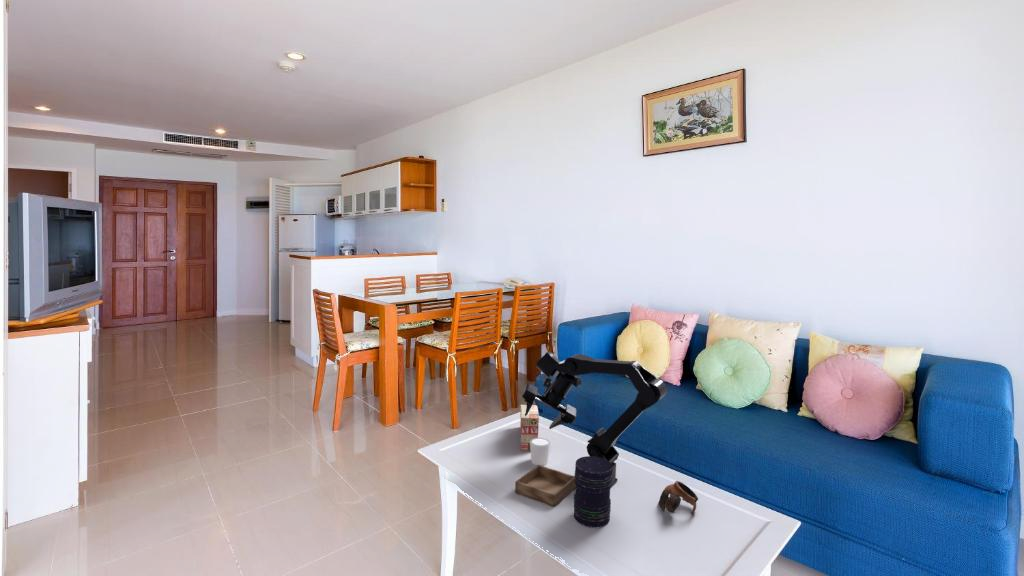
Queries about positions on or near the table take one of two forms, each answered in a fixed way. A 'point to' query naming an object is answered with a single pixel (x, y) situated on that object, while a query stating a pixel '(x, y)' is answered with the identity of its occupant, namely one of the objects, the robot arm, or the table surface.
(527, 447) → the stack of blocks
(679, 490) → the brown hollow curved piece
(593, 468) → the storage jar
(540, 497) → the walnut crate
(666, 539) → the table surface
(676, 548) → the table surface
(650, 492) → the table surface
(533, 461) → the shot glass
